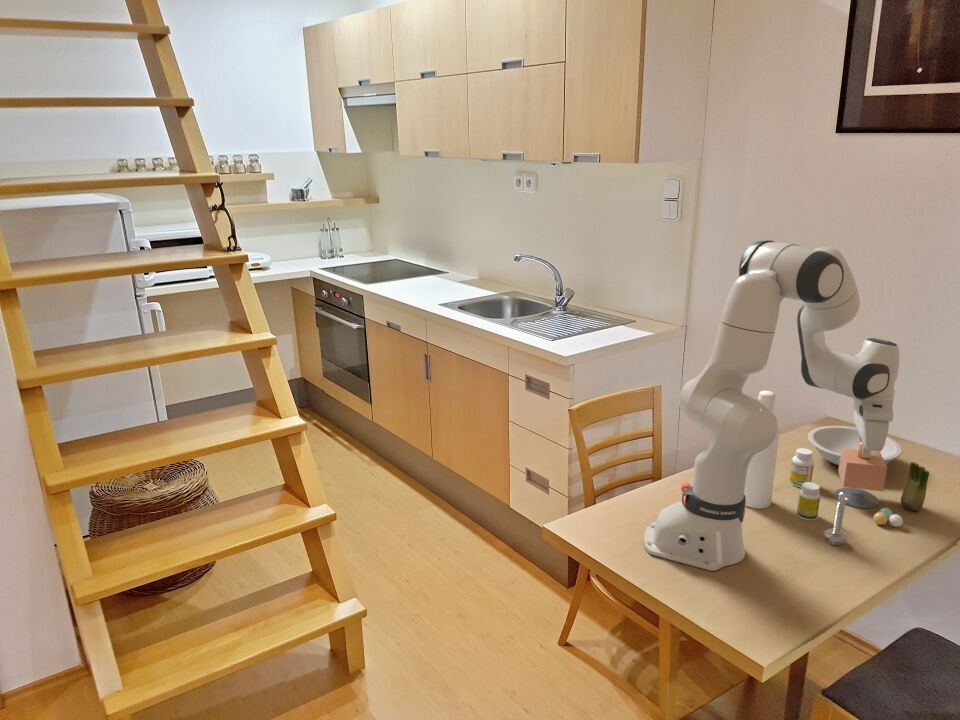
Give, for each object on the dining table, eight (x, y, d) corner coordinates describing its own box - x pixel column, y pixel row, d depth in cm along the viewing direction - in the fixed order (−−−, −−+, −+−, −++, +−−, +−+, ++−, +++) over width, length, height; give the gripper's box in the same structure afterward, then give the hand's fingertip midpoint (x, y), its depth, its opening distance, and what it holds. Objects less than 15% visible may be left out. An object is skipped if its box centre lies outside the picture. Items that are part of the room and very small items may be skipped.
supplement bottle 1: (800, 477, 196) (805, 445, 193) (815, 486, 191) (820, 453, 188) (784, 481, 194) (789, 448, 192) (799, 489, 190) (803, 456, 187)
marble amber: (873, 526, 172) (875, 515, 171) (871, 520, 174) (873, 509, 173) (887, 528, 171) (889, 517, 170) (885, 521, 173) (887, 511, 173)
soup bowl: (797, 468, 202) (799, 447, 200) (814, 439, 220) (816, 419, 218) (893, 490, 189) (897, 468, 187) (902, 457, 207) (906, 436, 205)
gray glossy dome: (837, 505, 181) (837, 503, 181) (832, 487, 190) (832, 485, 190) (881, 511, 178) (881, 509, 178) (874, 492, 187) (874, 490, 187)
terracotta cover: (843, 486, 180) (849, 447, 177) (838, 471, 188) (843, 433, 185) (883, 491, 177) (889, 452, 174) (876, 475, 185) (882, 437, 182)
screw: (822, 545, 164) (823, 534, 168) (846, 550, 162) (846, 539, 166) (830, 494, 160) (831, 485, 164) (854, 499, 158) (854, 490, 162)
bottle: (739, 507, 181) (751, 396, 172) (737, 492, 188) (748, 386, 179) (772, 510, 179) (786, 399, 170) (769, 496, 186) (782, 388, 177)
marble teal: (879, 521, 174) (881, 510, 173) (876, 515, 176) (878, 504, 176) (892, 523, 173) (894, 512, 172) (890, 517, 176) (892, 506, 175)
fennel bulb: (924, 515, 176) (933, 471, 173) (902, 512, 178) (910, 468, 174) (919, 504, 182) (927, 461, 178) (897, 501, 183) (905, 458, 179)
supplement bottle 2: (819, 521, 174) (823, 491, 171) (798, 520, 175) (802, 489, 172) (814, 512, 178) (818, 482, 176) (794, 510, 179) (798, 480, 177)
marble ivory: (889, 528, 171) (891, 517, 170) (886, 522, 173) (888, 511, 172) (903, 530, 170) (905, 519, 169) (900, 524, 172) (902, 513, 172)
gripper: (851, 387, 187) (844, 435, 191) (865, 415, 168) (856, 468, 172) (878, 389, 185) (870, 438, 189) (895, 418, 166) (885, 471, 170)
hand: (864, 452), depth 180 cm, fingers closed on terracotta cover, 3 cm apart
